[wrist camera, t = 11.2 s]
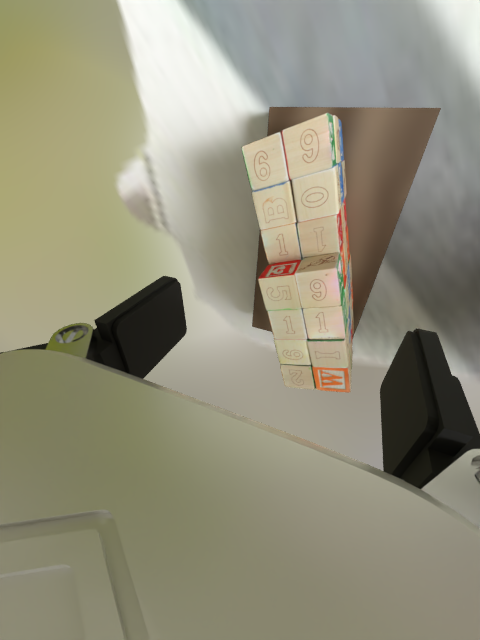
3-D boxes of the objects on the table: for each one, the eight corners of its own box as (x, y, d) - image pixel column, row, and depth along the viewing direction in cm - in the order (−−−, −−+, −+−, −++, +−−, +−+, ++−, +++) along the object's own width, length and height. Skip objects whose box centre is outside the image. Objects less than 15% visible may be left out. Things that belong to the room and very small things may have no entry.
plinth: (430, 112, 23) (440, 108, 20) (348, 335, 38) (347, 352, 35) (280, 111, 27) (269, 107, 24) (260, 313, 42) (252, 326, 39)
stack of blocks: (274, 143, 25) (222, 144, 16) (342, 119, 22) (326, 102, 13) (305, 323, 35) (284, 389, 26) (355, 322, 32) (351, 396, 23)
